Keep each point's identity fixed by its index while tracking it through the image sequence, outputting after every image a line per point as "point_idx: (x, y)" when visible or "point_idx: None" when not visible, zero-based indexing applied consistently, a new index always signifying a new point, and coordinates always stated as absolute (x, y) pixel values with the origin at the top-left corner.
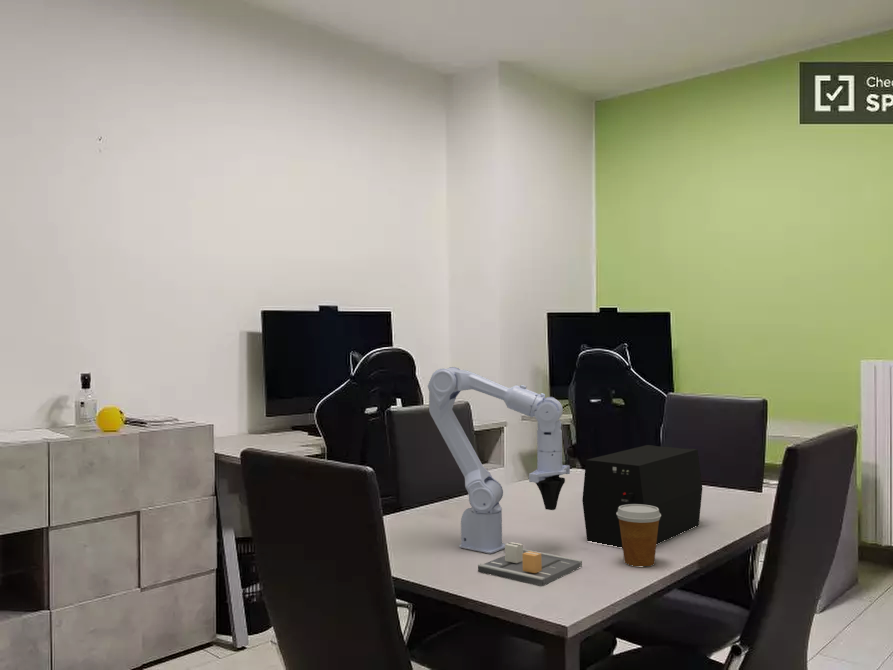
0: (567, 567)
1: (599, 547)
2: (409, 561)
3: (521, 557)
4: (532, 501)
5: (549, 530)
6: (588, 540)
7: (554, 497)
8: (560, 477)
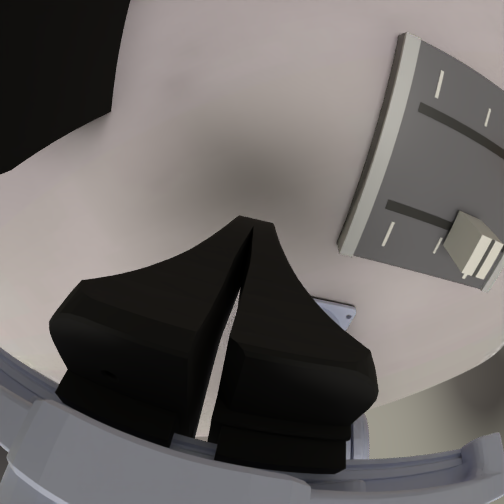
0: (475, 74)
1: (143, 53)
2: (418, 384)
3: (470, 218)
4: (3, 313)
5: (79, 246)
6: (107, 108)
7: (272, 260)
8: (68, 361)
